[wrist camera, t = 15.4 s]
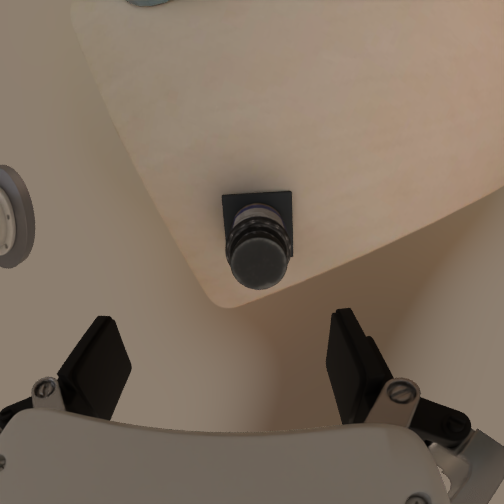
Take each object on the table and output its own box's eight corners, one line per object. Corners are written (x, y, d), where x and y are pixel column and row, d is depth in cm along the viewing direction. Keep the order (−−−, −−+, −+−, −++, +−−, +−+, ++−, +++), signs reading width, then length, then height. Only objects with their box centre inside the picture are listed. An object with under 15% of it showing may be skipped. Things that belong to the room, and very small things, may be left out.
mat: (228, 258, 36) (227, 260, 35) (222, 195, 33) (221, 196, 32) (292, 255, 35) (293, 256, 35) (291, 191, 32) (291, 191, 32)
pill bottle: (270, 258, 35) (276, 307, 25) (224, 240, 34) (210, 283, 24) (292, 213, 33) (309, 246, 23) (243, 193, 32) (237, 217, 22)
